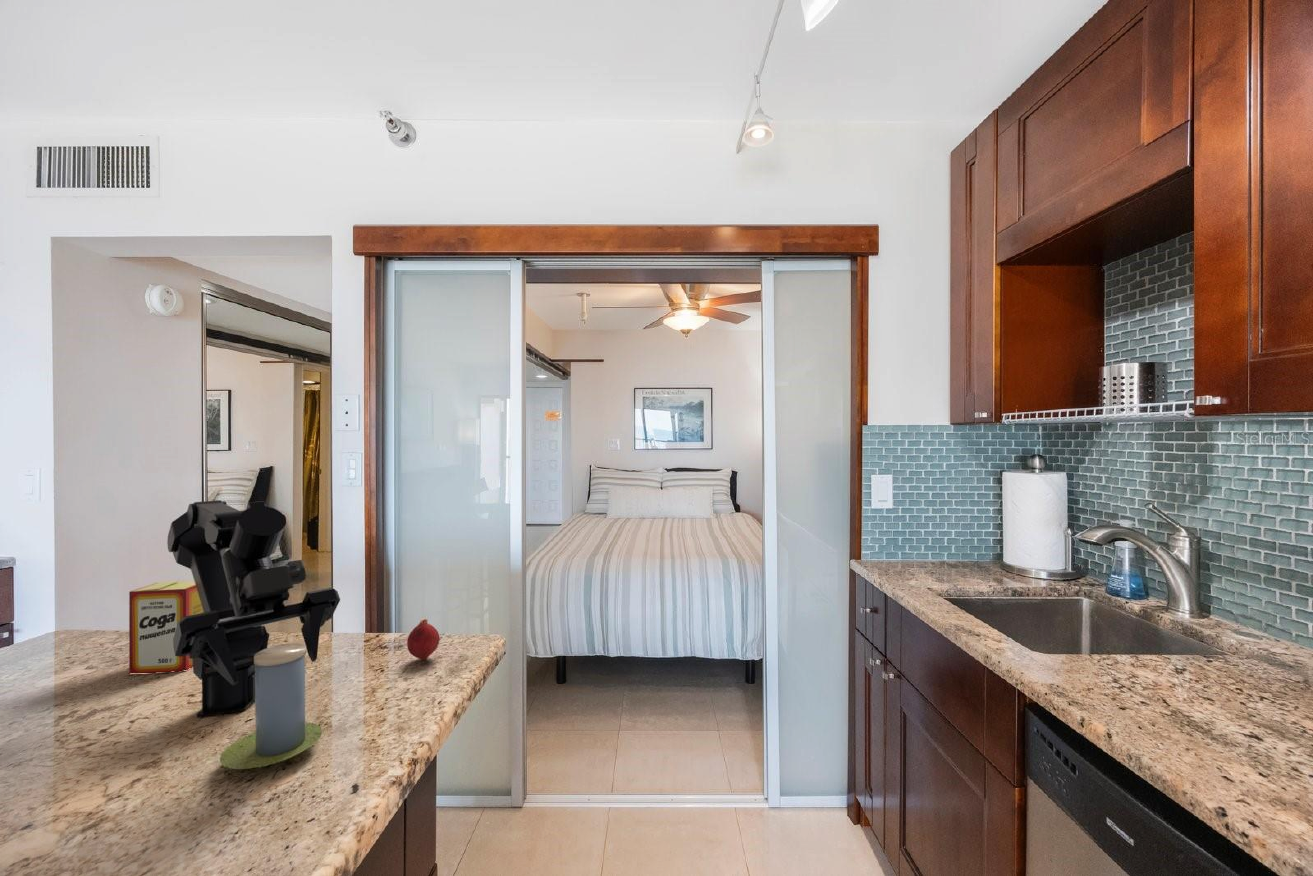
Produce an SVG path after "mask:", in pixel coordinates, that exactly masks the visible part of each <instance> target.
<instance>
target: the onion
mask: <svg viewBox="0 0 1313 876" xmlns="http://www.w3.org/2000/svg"><path fill="white" fill-rule="evenodd" d="M440 640H441V639H440V634H439V631H438V630H437V628H436V627H434V626H433V625H432V624H430V623H429V622H428V619H427V618H422V619H421V620H420V621H419V623H418V624H417V625H416V626H415V627H414V628H413V629H412V631H410V632H409V634H408V637H407V641H406V645H407V646H406V647H407V651H408V652H409V654H410V655H411V656H413V657H415V658H416V659H419V660H421V661H425V659H426V660H427V659H428V658H429V657H430V656H431V655H433V653H434V652H435V651H436V650H437V648H438V646H439V644H440Z"/></svg>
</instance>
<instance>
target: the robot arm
mask: <svg viewBox="0 0 1313 876" xmlns="http://www.w3.org/2000/svg"><path fill="white" fill-rule="evenodd" d="M286 525H287V517H286V515H285V514H283V513H282V512H281V511H280V510H278V509H276V508H274V507H271V506H267V505H266V503H265V501H264V500H263V501H252V502H250V501H249V502H247V507H246V509H245V510H238V509H237V508H235V507H233V506H231V505H228V504H227V501H222V500H220V499H219V500H218V499H217V500H207V501H194V502H193V503H189V504H188V506H187V511H186V512H184V513H183V514H182V515H180V516H179V517H177V518H176V519H174V520H173V521H171V523H170V526H169V527H170V528H169V529H168V530H169V531H168V534H167V550H168V552H169V553H172V554H173V557H174V560H175V563H176V564H178V565H180V566H182V567H185V568H187V569H190V571H191V574H192V577H193V581H195V584H196V588H197V591H198V594H199V598H200V601H201V604H202V608H203V611H204V613H200V614H195V615H190V616H185V617H183V618H182V619H181V620H180V621H179V622H178V624H177V628H176V631H175V635H174V638H173V646H174V652H175V656H179V657H181V656H185V655H189V658H190V659H193V660H192V661H193V668H192V672H193V674H194V675H195V676H196V677H197V678H198V679H199V680H200V681H201V709H200V710H199V711H198V712H197V713H196V715H195V716H196V717H197V718H200V717H209V716H214V715H215V716H216V715H224V714H230V713H231V714H232V713H236V712H237V713H238V712H244V711H245V710H247V709H248V707H250V705H251V704H253V703H254V702H255V664H254V655H255V654H256V653H258V652H259V651H261V650H264V649H266V648H268V644H269V638H270V636H271V635H270V633H269V632H268V631H267V628H266V626H265V625H268V624H272V623H276V622H281V621H287V620H290V619H294V618H298V617H299V621H300V623H301V624H302V627H301V628H300V631H301V634H302V637H303V640H304V644H305V645H306V653H307V654H308V657H309V659H310V661H311V662H312V663H314V662H317V661H316V660H317V658H318V650H319V643H320V642H319V641H320V640H319V639H320V633H321V627H323V626H324V625H325V623H326V622H327V621H329V620H331V619H332V617H333V615H334V613H335V611H336V610H337V607H338V605H339V603H340V602H341V597H340V595H339V593H338V591H337V590H336V589H335V588H333V587H327V588H325V587H324V588H321V589H317V590H311V591H306V593H305V595H304V597H303V600H302V601H301V602H298V603H292V604H287V605H285V601H288V600H289V598H290V592H289V590H290V589H293V588H294V585H299V584H301V583H303V582H304V581H305V580H306V578H307V571H306V567H305V564H304V562H303V560H302V559H297V560H292V561H291V560H290V561H288V562H287V563H286V564H285V565H282V566H274V565H273V561H272V559H271V555H273V554H275V552H276V551H277V549H278V545H279V544H280V540H281V538H282V535H283V533H284V530H285V528H286Z"/></svg>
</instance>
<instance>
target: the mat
mask: <svg viewBox="0 0 1313 876" xmlns="http://www.w3.org/2000/svg"><path fill="white" fill-rule="evenodd" d="M322 735H323V729H322V727H321V726H320V725H319V724H316V723H314V722H306V721H305V740H304V742H303V743H302V744H300V745H299V746H297V747H296V748H294V749H292V750H290V751H287V752H284V753H281V754H277V755H271V756H261V755H258V754H256V731H255V732H252V733H250V734H248V735H246V736H243V737H242V738H240V739H238V740H236V741H234V742H233V743H232V744H230V745H229V746H228V747H226V748H225V750H224V751H222V753H221V754H220V757H219V762H220V764H221V765H222V766H224V767H225V768H229V769H233V770H246V769H253V768H262V767H267V766H269V765H275V764H277V763H281V762H282V761H286V760H288V759H291V758H293V757H295V756H297V755H299V754H301V753H303V752H304V751H305V750H307V749H309V748H311V747H312V746H313V745H314V744H316V743H317V742H318V741H319V739H320V738H321V736H322Z"/></svg>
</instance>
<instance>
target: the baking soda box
mask: <svg viewBox="0 0 1313 876" xmlns="http://www.w3.org/2000/svg"><path fill="white" fill-rule="evenodd" d="M128 595H129V598H128V599H129V602H128V605H129V612H128V613H129V614H128V617H129V618H128V621H129V622H128V623H129V625H128V626H129V627H128V628H129V629H128V630H129V631H128V632H129V633H128V634H129V636H128V640H129V642H128V643H129V644H128V645H129V646H128V647H129V650H128V653H129V656H128V659H129V661H128V662H129V664H128V665H129V667H128V668H129V673H128V674H130V673H156V672H170V673H172V672H171V671H183V670H188V669H189V668H191V669H193V668H192V667H193V661H192V660H193V659H190V658H189V655H185V656H181V657H179V656H175V652H174V646H173V638H174V635H175V631H176V628H177V624H178V622H179V621H180V620H181V619H182V618H183V617H185V616H190V615H195V614H200V613H204V611H203V608H202V604H201V601H200V598H199V594H198V591H197V588H196V584H195V581H194V580H188V581H187V580H185V581H184V580H183V581H182V580H171V581H164V582H163V581H162V582H161V581H160V582H155V583H152V584H148V585H146V586H143V587H139V588H137V589H134V590H131V591H129V594H128ZM189 670H190V669H189ZM189 670H188V671H189ZM156 674H157V673H156Z"/></svg>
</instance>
